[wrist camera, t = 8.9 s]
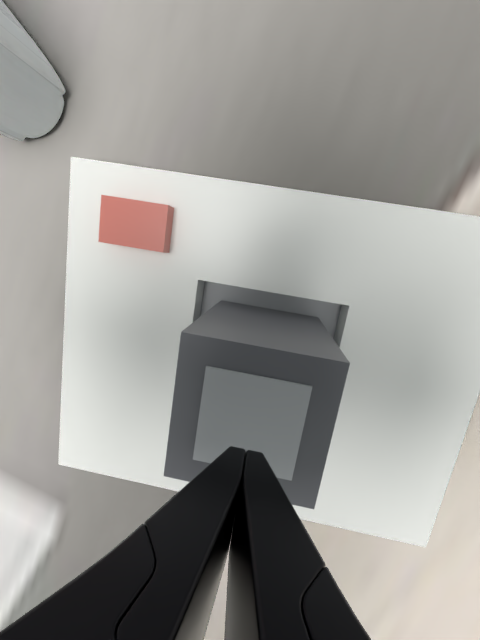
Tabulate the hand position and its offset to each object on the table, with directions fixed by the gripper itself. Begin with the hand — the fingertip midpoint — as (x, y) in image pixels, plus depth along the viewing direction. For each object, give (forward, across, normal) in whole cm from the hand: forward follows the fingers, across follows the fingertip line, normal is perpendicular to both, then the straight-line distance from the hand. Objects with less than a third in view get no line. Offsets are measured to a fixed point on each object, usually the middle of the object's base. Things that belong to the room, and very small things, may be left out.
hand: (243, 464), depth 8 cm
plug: (+9, 0, 0) cm, 9 cm away
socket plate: (+10, 0, 0) cm, 10 cm away
